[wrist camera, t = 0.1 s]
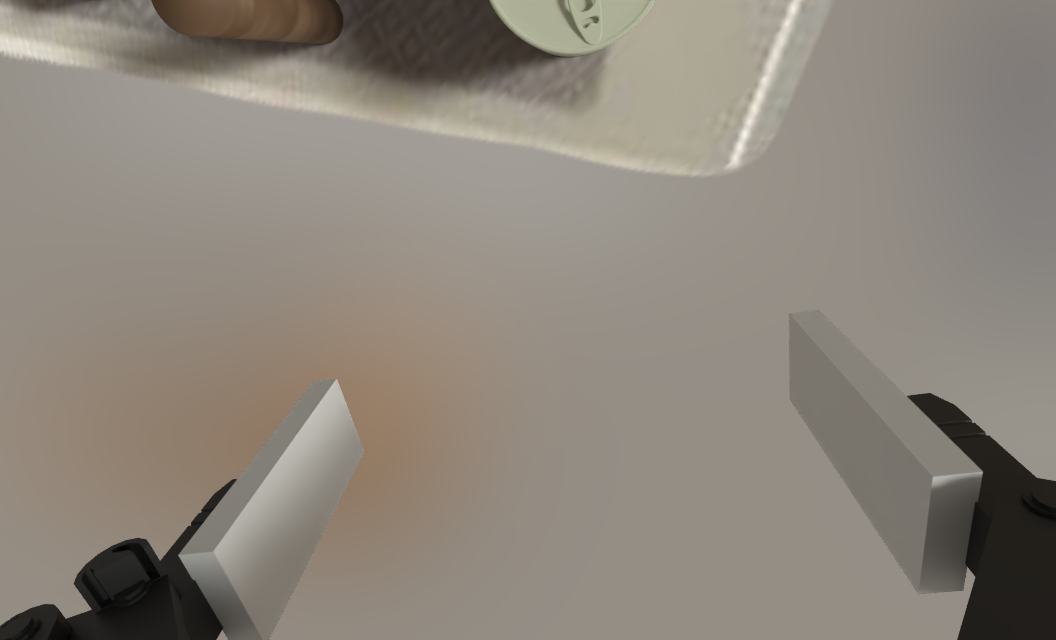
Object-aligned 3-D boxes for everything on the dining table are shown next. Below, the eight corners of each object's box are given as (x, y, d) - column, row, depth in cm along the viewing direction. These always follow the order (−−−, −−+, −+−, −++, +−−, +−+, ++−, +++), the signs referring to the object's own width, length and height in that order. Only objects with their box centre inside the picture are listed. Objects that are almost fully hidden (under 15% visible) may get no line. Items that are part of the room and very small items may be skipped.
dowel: (289, -4, 38) (135, -39, 24) (334, -15, 38) (203, -56, 24) (305, 48, 39) (168, 43, 26) (349, 38, 39) (233, 27, 25)
